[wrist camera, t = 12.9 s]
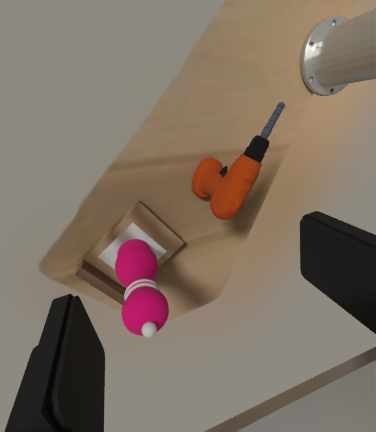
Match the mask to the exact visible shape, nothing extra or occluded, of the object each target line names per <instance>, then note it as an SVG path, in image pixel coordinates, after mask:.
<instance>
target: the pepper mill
mask: <svg viewBox="0 0 376 432" xmlns="http://www.w3.org/2000/svg"><path fill="white" fill-rule="evenodd" d="M157 270H158V262H157V258H156V255H155V254H154V252H153V251H152V250H151V248H150V246H149V245H148V244H147V243H146V242H145V241H143V240H140V239H131V240H128V241H126V242H124V243H123V244H122V245H121V246H120V248H119V250H118V252H117V259H116V262H115V271H116V275H117V277H118V279H119V281H120V282H121V283H122V284H123V285H125V287H126V288H127V289H126V291H125V294H124V299H125V302H124V304H123V307H122V319H123V322H124V324H125V326H126V327H127V329H128V330H129V331H130V332H132V333H134V334H136V335H141V336H145V337H146V338H151V337H153V336H154V335H155V334H156V332H157V331H158V330H160V329H161V328H162V327H163V325H164V324H165V322H166V320H167V318H168V313H169V307H168V302H167V300H166V298H165V296H164V295H163V294H162V293H161V292H160V289H159V287H158V285H157V284H156V283H155V282H154V278H155V276H156V274H157Z"/></svg>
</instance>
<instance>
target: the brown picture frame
mask: <svg viewBox="0 0 376 432" xmlns="http://www.w3.org/2000/svg"><path fill="white" fill-rule="evenodd" d="M131 239H140V240H143V241H145V242H146V243H147V244H148V245H149V246H150V248H151V250H152V251H153V252H154V254H155V255H156V258H157V262H158V268H159V267H160V266H161V265H162V264H163V263H164V262H165V261H166V260H167V259H168V258H169V257H170V256H171V255H173V254H174V253H175V252H176V251H177V250H178V249H179V248H180V247H181V246H182V245H183V244H184V242H183V240H182V239H181V238H180V237H179V236H178V235H177V234H176V233H175V232H173V231H172V230H171V229H170V228H169V227H168V226H167V225H166V224H165V223H164V222H163V221H162V220H160V219H159V218H158V217H157V216H156V215H155V214H154V213H153V212H152V211H151V210H150V209H149V208H147V207H146V206H145V205H144V204H143V203H142V202H141V201H139V202H138V203H137V204H136V205H135V206H134V207H133V208H132V209H131V210H129V211H128V212H127V213H126V214H125V215H124V216H123V217H122V218H121V219H120V220H119V221H118V222H117V223H116V224H115V225H114V226H113V227H112V228H111V229H110V230H109V231H108V232H107V233H106V234H105V235H104V236H103V237H102V238H101V239H100V240H99V241H98V242H97V243H96V244H95V245H94V246H93V247H92V248H91V249H90V250H89V251H88V252H87V253H86V254H85V255H84V256H83V257H82V258H81V259H80V260H79V261H78V264H77V269H76V273H75V275H76V276H78V277H79V278H81V279H83V280H84V281H86V282H87V283H89V284H90V285H92V286H94V287H95V288H97V289H98V290H100V291H101V292H103V293H105V294H106V295H108V296H109V297H111V298H112V299H114V300H116V301H117V302H119V303H120V304H122V305H123V304H124V302H125V299H124V294H125V291H126V289H127V288H126V287H125V285H123V284H122V283H121V282H120V281H119V279H118V277H117V275H116V271H115V262H116V259H117V252H118V250H119V248H120V246H121V245H122V244H123V243H124V242H126V241H128V240H131Z"/></svg>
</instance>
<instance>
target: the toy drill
mask: <svg viewBox="0 0 376 432" xmlns="http://www.w3.org/2000/svg"><path fill="white" fill-rule="evenodd" d="M284 107H285V104H284V103H283V102H280V103H278V105H277V108H276V109H275V110H274V112H273V114H272V116H271V118H270V119H269V122H268V123H267V124H266V126H265V127H264V129H263V131H262V132H261V135H260V136H258V135H257V136H255V137H254V138H253V139H252V141H251V143H250V145H249V147H247V148H246V150H245V152H244V154H241V155H240V157H238V158H237V160H236V161H235V162H234V163H233V164H232V166H231V167H230V169H229V171H228V172H227V166H226V167H224V168H223V169H222V164H221V163H220V162H219V161H218V160H216V159H214V158H205V159H203V160H202V161H201V162H200V164H199V165H198V167H197V169H196V172H195V174H194V177H193V181H192V191H193V192H194V193H195V194H196V195H197V196H199V197H202V198H205V197H209V196H210V195H211V196H212V198H211V201H210V206H211V210H212V213H213V214H214V215H215V216H216V217H218V218H220V219H223V220H229V219H232V218H233V217H234V216H235V215H236V213H237V212H238V211H239V209H240V208H241V206H242V204H243V203H244V201H245V200H246V198H247V196H248V194H249V192H250V190H251V189H252V187H253V185H254V183H255V181H256V179H257V177H258V176H259V171H260V167H261V165H262V164H261V161H262V159H263V157H264V154H265V152H266V150H267V148H268V147H269V141H268V140H267V138H268V136H269V135H270V133H271V131H272V128H273V127H274V125H275V123H276V121H277V119H278V118H279V116H280V114H281V112H282V110H283V108H284Z"/></svg>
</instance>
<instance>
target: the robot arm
mask: <svg viewBox="0 0 376 432" xmlns="http://www.w3.org/2000/svg"><path fill="white" fill-rule="evenodd" d="M301 72H302V76H303V79H304V82H305V84H306V85H307V87H308V88H309V89H310V90H311V91H312V92H313V93H315V94H317V95H320V96H328V95H333V94H335V93H338V92H339V91H341V90H342V89H343V88H344V87H345V86H346V85H347V84H348V83H352V82H358V81H364V80H370V79H375V78H376V8H375V9H373V10H371V11H369V12H367V13H364V14H362V15H360V16H357V17H355V18H353V19H350V20H348V19H346V18H343V17H339V16H335V17H330V18H328V19H326V20H324V21H322V22H320V23H319V24H318V25H317V26H316V27H315V28H314V29H313V30H312V31H311V33H310V34H309V36H308V38H307V40H306V41H305V44H304V47H303V51H302V56H301ZM300 264H301V266H300V267H301V274H302V276H303V277H304V278H305V279H306V280H307V281H309V282H310V283H311V284H313V285H314V286H315V287H316V288H318V289H319V290H320V291H322V292H323V293H324V294H325V295H327V296H328V297H329V298H330V299H332V300H333V301H334V302H335V303H337V304H338V305H339V306H341V307H342V308H343V309H344V310H346V311H347V312H348V313H349V314H351V315H352V316H353V317H355V318H356V319H357V320H358V321H360V322H361V323H362V324H364V325H365V326H366V327H367V328H369V329H370V330H371V331H373V332H374V333H375V334H376V235H374V234H372V233H369V232H367V231H365V230H362V229H360V228H357V227H355V226H353V225H350V224H348V223H345V222H343V221H340V220H338V219H336V218H333V217H331V216H328V215H326V214H324V213H321V212H318V211H316V212H312V213H309V214H306V215H304V216H303V218H302V220H301V221H300ZM104 386H105V353H104V349H103V346H102V344H101V342H100V340H99V338H98V336H97V333H96V331H95V329H94V327H93V325H92V323H91V321H90V319H89V317H88V314H87V312H86V310H85V308H84V306H83V304H82V302H81V300H80V298H79V296H75V297H73V295H72V294H68V295H65V296H62V297H60V298H56V299H54V300H53V301H52V304H51V307H50V310H49V314H48V316H47V320H46V323H45V326H44V329H43V332H42V335H41V338H40V341H39V345H38V346H36V347H35V348H34V349H33V351H32V353H31V355H30V358H29V361H28V364H27V367H26V370H25V373H24V376H23V379H22V382H21V385H20V388H19V391H18V394H17V396H16V399H15V403H14V406H13V408H12V411H11V414H10V417H9V420H8V423H7V426H6V429H5V432H104ZM205 432H376V347H375V348H373V349H370V350H368V351H366V352H364V353H362V354H360V355H358V356H356V357H354V358H352V359H350V360H348V361H346V362H344V363H342V364H340V365H338V366H336V367H334V368H331V369H330V370H327V371H325V372H323V373H321V374H319V375H317V376H315V377H313V378H311V379H309V380H307V381H305V382H303V383H301V384H299V385H297V386H295V387H293V388H291V389H289V390H287V391H285V392H283V393H281V394H279V395H277V396H275V397H273V398H271V399H269V400H267V401H265V402H263V403H261V404H259V405H257V406H255V407H253V408H251V409H249V410H247V411H245V412H243V413H241V414H239V415H237V416H235V417H233V418H231V419H229V420H227V421H225V422H223V423H221V424H219V425H217V426H215V427H213V428H211V429H209V430H207V431H205Z"/></svg>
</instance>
